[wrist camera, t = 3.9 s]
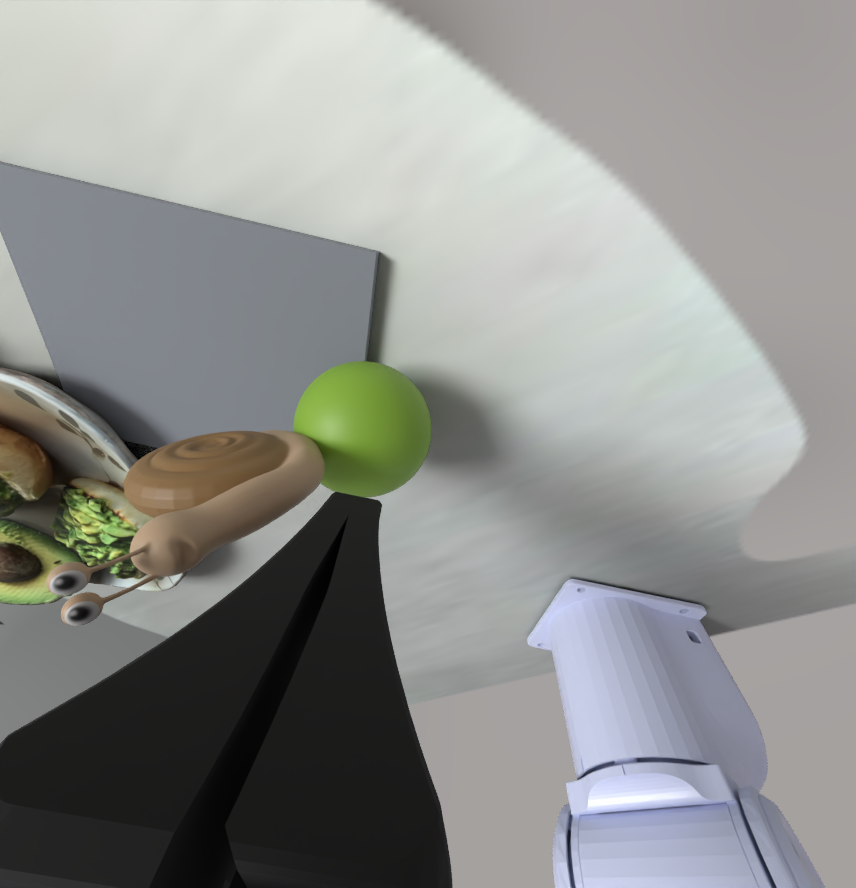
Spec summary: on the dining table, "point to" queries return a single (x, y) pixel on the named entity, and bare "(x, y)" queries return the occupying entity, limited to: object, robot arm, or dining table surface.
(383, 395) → the snail figurine
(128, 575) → the salad plate
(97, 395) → the slate mat
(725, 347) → the dining table surface
